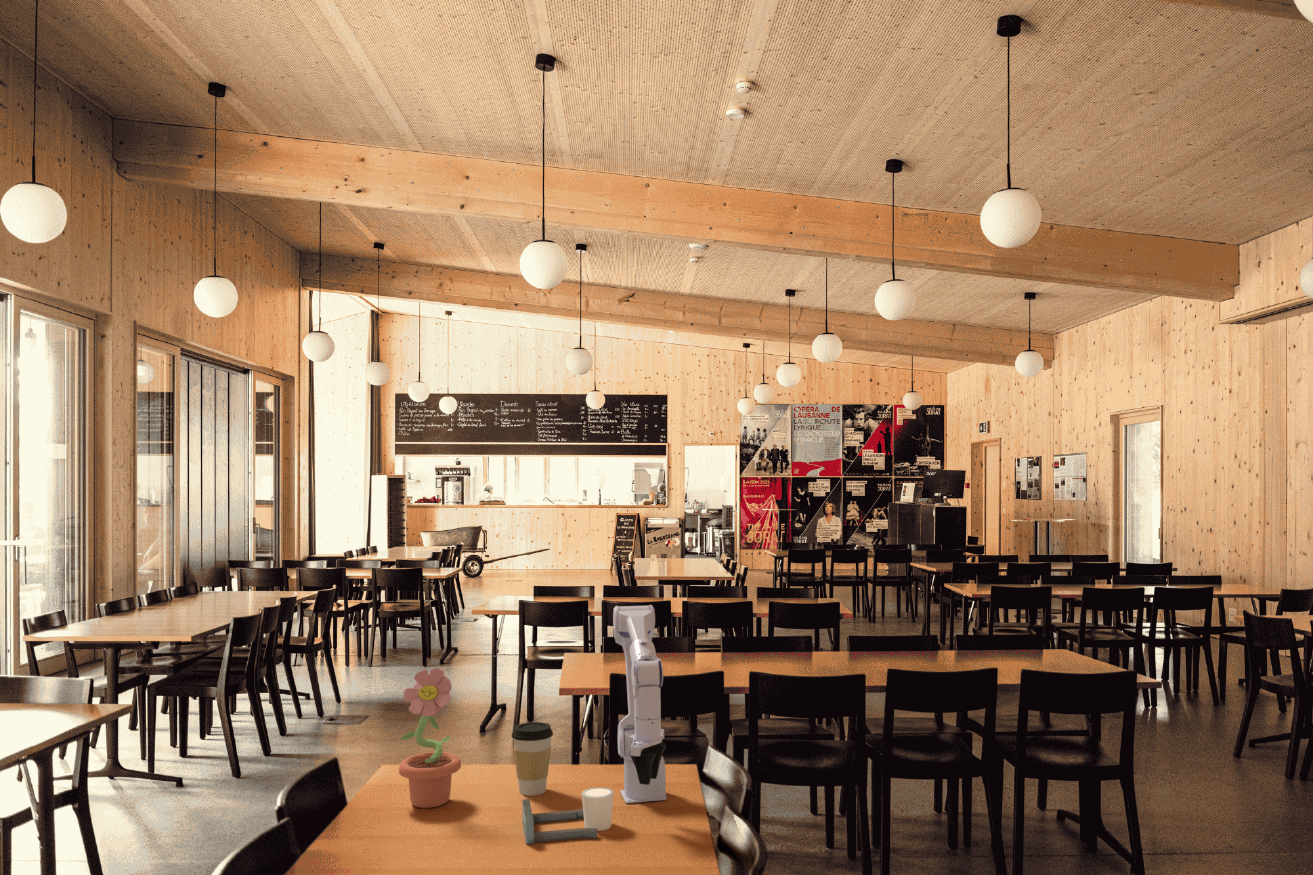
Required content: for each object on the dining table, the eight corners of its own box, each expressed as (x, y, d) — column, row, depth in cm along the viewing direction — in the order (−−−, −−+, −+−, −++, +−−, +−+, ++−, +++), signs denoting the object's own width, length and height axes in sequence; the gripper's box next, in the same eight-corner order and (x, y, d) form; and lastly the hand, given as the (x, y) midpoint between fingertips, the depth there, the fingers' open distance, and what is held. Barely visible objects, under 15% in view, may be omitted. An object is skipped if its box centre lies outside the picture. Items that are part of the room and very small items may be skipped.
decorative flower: (383, 812, 196) (384, 675, 198) (410, 791, 210) (410, 663, 211) (446, 815, 194) (447, 677, 196) (469, 793, 207) (470, 664, 209)
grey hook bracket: (589, 814, 193) (589, 793, 194) (598, 838, 180) (598, 816, 180) (522, 820, 190) (522, 798, 191) (526, 845, 177) (526, 822, 177)
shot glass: (601, 834, 182) (601, 799, 182) (575, 827, 186) (574, 794, 186) (620, 823, 188) (620, 789, 188) (594, 817, 192) (594, 784, 192)
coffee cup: (557, 784, 213) (557, 721, 214) (548, 798, 203) (548, 732, 204) (517, 783, 214) (517, 721, 215) (506, 797, 204) (506, 732, 205)
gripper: (643, 707, 199) (644, 768, 198) (616, 723, 185) (617, 789, 184) (672, 709, 196) (673, 772, 195) (647, 726, 183) (648, 793, 182)
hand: (648, 780), depth 190 cm, fingers open, 3 cm apart
